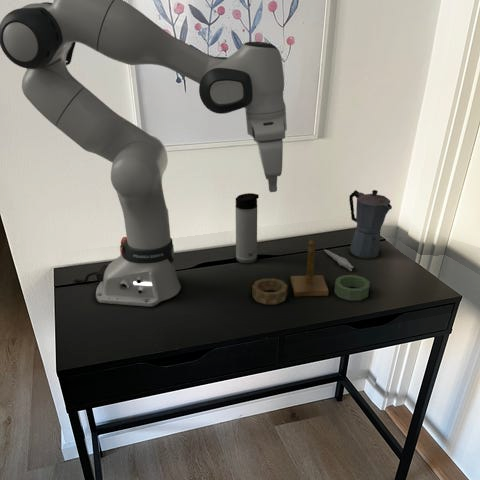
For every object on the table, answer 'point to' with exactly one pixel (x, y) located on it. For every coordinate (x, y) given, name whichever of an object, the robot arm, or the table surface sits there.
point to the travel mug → (246, 227)
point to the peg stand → (309, 278)
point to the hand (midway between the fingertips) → (271, 184)
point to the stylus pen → (340, 260)
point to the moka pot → (368, 223)
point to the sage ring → (354, 293)
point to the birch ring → (269, 296)
